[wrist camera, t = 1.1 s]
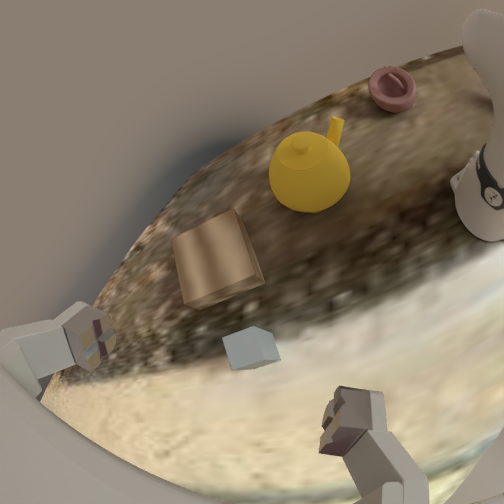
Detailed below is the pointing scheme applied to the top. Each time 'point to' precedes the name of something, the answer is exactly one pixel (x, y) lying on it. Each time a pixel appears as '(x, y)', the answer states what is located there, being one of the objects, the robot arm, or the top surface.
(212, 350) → the top surface
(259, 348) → the gray block
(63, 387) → the top surface
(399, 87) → the mortar and pestle
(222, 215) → the maple block
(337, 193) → the teapot
